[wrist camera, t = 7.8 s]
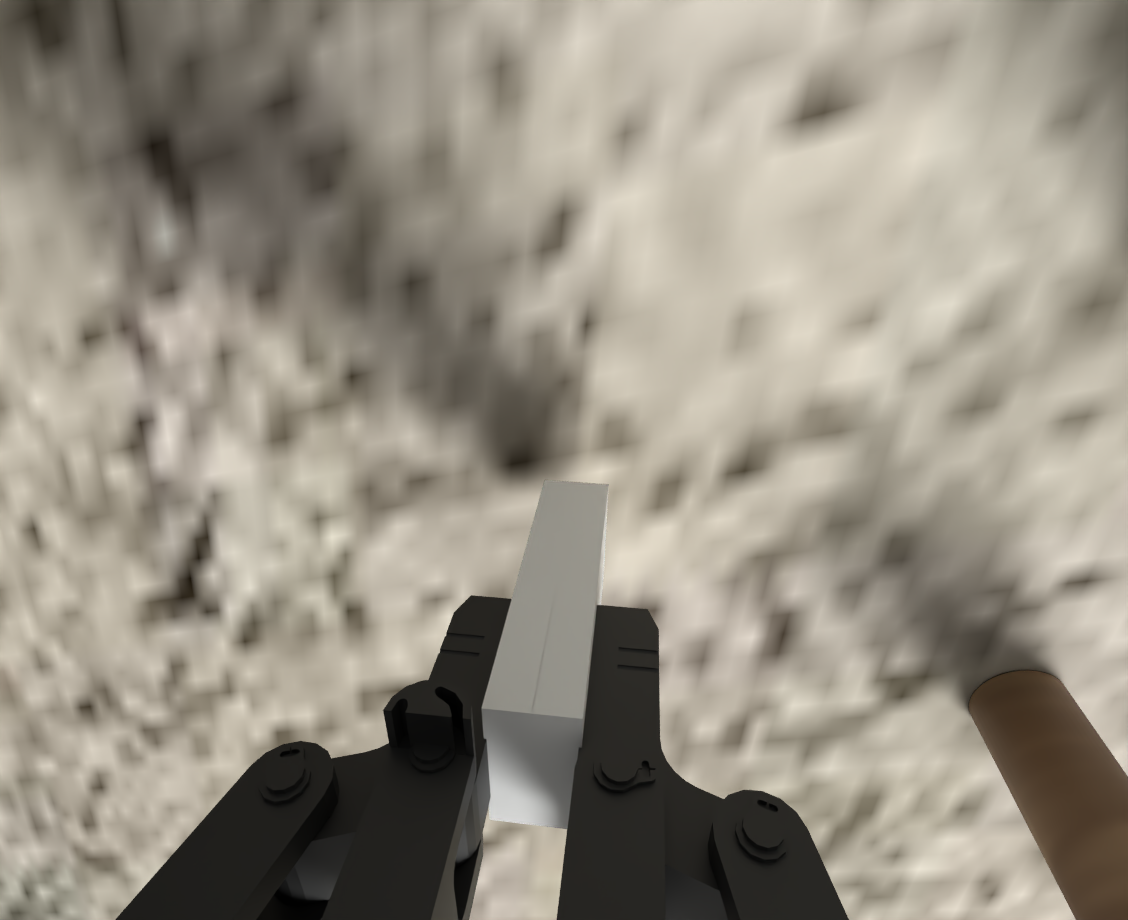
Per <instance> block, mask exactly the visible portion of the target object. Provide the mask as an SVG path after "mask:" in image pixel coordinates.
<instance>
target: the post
mask: <svg viewBox="0 0 1128 920" xmlns="http://www.w3.org/2000/svg"><path fill="white" fill-rule="evenodd" d="M969 711H970V714H971V716H972V718H973V720H974V722H975V724H976V726H977V728H978V730H979V732H980V734H981V735H982V737H983V739H984V741H985V743H986V745H987V747H988V749H989V751H990V753H991V755H992V757H993V759H994V761H995V763H996V765H997V767H998V769H999V771H1000V772H1001V774H1002V776H1003V778H1004V780H1005V782H1006V784H1007V786H1008V788H1009V790H1010V792H1011V794H1012V796H1013V798H1014V800H1015V802H1016V804H1017V806H1018V808H1019V810H1020V811H1021V813H1022V815H1023V817H1024V819H1025V821H1026V823H1027V825H1028V827H1029V829H1030V831H1031V833H1032V835H1033V837H1034V839H1035V841H1036V843H1037V845H1038V847H1039V848H1040V850H1041V852H1042V854H1043V856H1044V858H1045V860H1046V862H1047V864H1048V866H1049V868H1050V870H1051V872H1052V874H1053V876H1054V878H1055V880H1056V882H1057V884H1058V885H1059V887H1060V889H1061V891H1062V893H1063V895H1064V897H1065V899H1066V901H1067V903H1068V905H1069V907H1070V909H1071V911H1072V913H1073V915H1074V917H1075V919H1076V920H1128V776H1127V775H1126V773H1125V772H1124V771H1123V769H1122V768H1121V766H1120V765H1119V763H1118V762H1117V761H1116V759H1115V758H1114V756H1113V755H1112V753H1111V752H1110V750H1109V749H1108V748H1107V746H1106V745H1105V743H1104V742H1103V740H1102V739H1101V738H1100V736H1099V735H1098V733H1097V732H1096V730H1095V729H1094V728H1093V726H1092V725H1091V723H1090V722H1089V720H1088V719H1087V717H1086V716H1085V715H1084V713H1083V712H1082V710H1081V709H1080V707H1079V706H1078V705H1077V703H1076V702H1075V700H1074V699H1073V697H1072V696H1071V694H1070V693H1069V692H1068V690H1067V689H1066V687H1065V686H1064V684H1063V683H1062V682H1061V681H1060V680H1059V679H1057V678H1056V677H1054V676H1052V675H1050V674H1047V673H1043V672H1039V671H1029V670H1025V671H1014V672H1009V673H1005V674H1002V675H999V676H996V677H994V678H992V679H990V680H988V681H986V682H985V683H983V684H982V685H981V686H980V687H979V688H978V689H977V690H976V691H975V692H974V693H973V695H972V697H971V699H970V702H969Z"/></svg>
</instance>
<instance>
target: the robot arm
mask: <svg viewBox="0 0 1128 920" xmlns="http://www.w3.org/2000/svg"><path fill="white" fill-rule="evenodd" d="M608 485H609V484H595V483H581V482H566V481H552V480H544V484H543V488H542V491H541V495H540V499H539V502H538V506H537V509H536V513H535V517H534V520H533V524H532V527H531V531H530V535H529V538H528V542H527V546H526V549H525V553H524V556H523V560H522V564H521V567H520V571H519V574H518V578H517V582H516V585H515V589H514V593H513V596H512V599H506V598H495V597H483V596H472V595H471V596H470V597H469V598H468V599H467V600H466V601H465V602H464V603H463V604H462V605H461V606H460V607H459V608H458V609H457V610H456V611H455V612H454V614H453V617H452V620H451V622H450V625H449V628H448V630H447V635H446V637H445V638H444V641H443V643H442V646H441V649H440V653H439V654H438V657H437V659H436V662H435V664H434V667H433V670H432V672H431V675H430V678H429V680H424V681H420V682H417V683H415V684H412V685H409V686H406V687H405V688H403V689H402V690H401V691H399V692H398V693H397V694H395V695H394V696H393V697H392V698H391V700H390V701H389V702H388V704H387V705H386V707H385V708H384V710H383V711H384V717H385V722H386V728H387V733H388V739H389V743H388V744H386V745H384V746H382V747H380V748H378V749H375V750H371V751H368V752H364V753H359V754H353V755H348V756H343V757H338V758H332V759H331V757H330V755H329V753H328V751H327V750H325V749H324V748H322V747H321V746H319V745H318V744H316V743H310V742H303V741H299V742H293V743H288V744H283V745H281V746H279V747H277V748H275V749H273V750H271V751H268V752H266V753H265V754H264V755H263V756H261V757H260V758H259V759H258V760H257V761H256V762H255V763H253V764H252V765H251V766H250V767H249V768H248V769H247V771H246V772H245V773H244V774H243V775H242V776H241V777H240V779H239V780H238V781H237V782H236V783H235V784H234V785H233V787H232V788H231V789H230V790H229V791H228V792H227V793H226V795H225V796H224V797H223V798H222V799H221V800H220V801H219V802H218V804H217V805H216V806H215V807H214V808H213V809H212V810H211V812H210V813H209V814H208V815H207V816H206V817H205V818H204V820H203V821H202V822H201V823H200V824H199V825H198V826H197V827H196V829H195V830H194V831H193V832H192V833H191V834H190V835H189V837H188V838H187V839H186V840H185V841H184V842H183V843H182V845H181V846H180V847H179V848H178V849H177V850H176V851H175V852H174V854H173V855H172V856H171V857H170V858H169V859H168V860H167V862H166V863H165V864H164V865H163V866H162V867H161V868H160V870H159V871H158V872H157V873H156V874H155V875H154V876H153V878H152V879H151V880H150V881H149V882H148V883H147V884H146V885H145V887H144V888H143V889H142V890H141V891H140V892H139V893H138V895H137V896H136V897H135V898H134V899H133V900H132V901H131V903H130V904H129V905H128V906H127V907H126V908H125V909H124V910H123V912H122V913H121V914H120V915H119V916H118V917H117V918H116V920H469V917H470V912H471V908H472V903H473V899H474V894H475V889H476V885H477V880H478V876H479V871H480V867H481V862H482V857H483V833H482V832H483V828H484V823H485V819H486V815H487V810H488V806H489V816H490V820H497V821H505V822H513V823H522V824H530V825H538V826H546V827H555V828H563V829H567V837H566V845H565V854H564V862H563V871H562V879H561V888H560V897H559V905H558V914H557V920H849V919H848V917H847V915H846V912H845V910H844V908H843V906H842V904H841V901H840V899H839V897H838V895H837V893H836V890H835V888H834V886H833V884H832V882H831V879H830V877H829V875H828V873H827V871H826V868H825V866H824V864H823V862H822V860H821V857H820V855H819V853H818V851H817V849H816V846H815V844H814V842H813V840H812V838H811V835H810V833H809V831H808V829H807V827H806V826H805V824H804V823H803V821H802V820H801V818H800V817H799V815H798V814H797V812H796V811H795V810H793V809H792V808H791V807H790V806H788V805H787V804H786V803H785V802H784V801H782V800H781V799H780V798H777V797H775V796H772V795H770V794H768V793H765V792H763V791H753V790H742V791H739V792H736V793H733V794H730V795H728V796H727V797H726V798H725V799H722V798H720V797H717V796H715V795H713V794H710V793H708V792H706V791H704V790H701V789H699V788H697V787H695V786H693V785H692V784H690V783H688V782H686V781H685V780H684V779H683V778H681V777H680V776H679V775H678V774H677V773H676V772H675V771H674V770H673V769H672V768H671V766H670V765H669V764H668V762H667V761H666V758H665V756H664V754H663V752H662V749H661V742H660V708H659V629H658V627H657V626H656V624H655V622H654V620H653V618H652V616H651V615H650V613H649V611H648V609H638V608H627V607H615V606H604V605H601V599H602V589H603V579H604V562H605V543H606V524H607V504H608Z"/></svg>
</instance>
